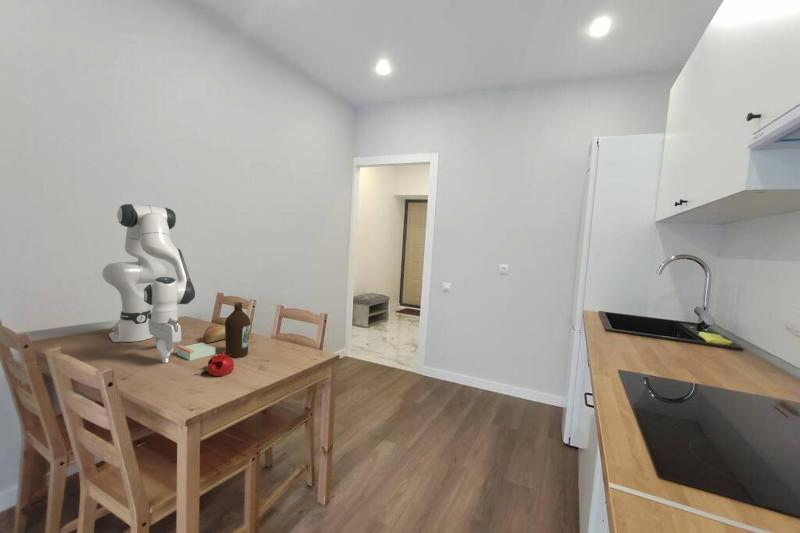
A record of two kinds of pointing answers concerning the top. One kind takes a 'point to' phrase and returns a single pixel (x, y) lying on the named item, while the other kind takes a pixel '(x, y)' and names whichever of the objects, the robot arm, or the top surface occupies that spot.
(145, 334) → the robot arm
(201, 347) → the mint green flat box
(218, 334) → the bread roll
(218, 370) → the pomegranate
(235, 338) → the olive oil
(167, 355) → the lightbulb
